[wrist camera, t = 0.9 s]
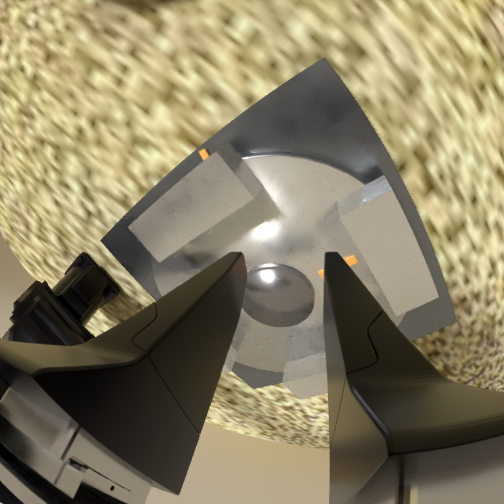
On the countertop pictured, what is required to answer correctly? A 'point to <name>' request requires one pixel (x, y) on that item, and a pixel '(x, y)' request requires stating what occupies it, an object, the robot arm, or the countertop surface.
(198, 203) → the slotted metal disc
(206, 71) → the countertop surface
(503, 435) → the robot arm
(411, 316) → the base plate
